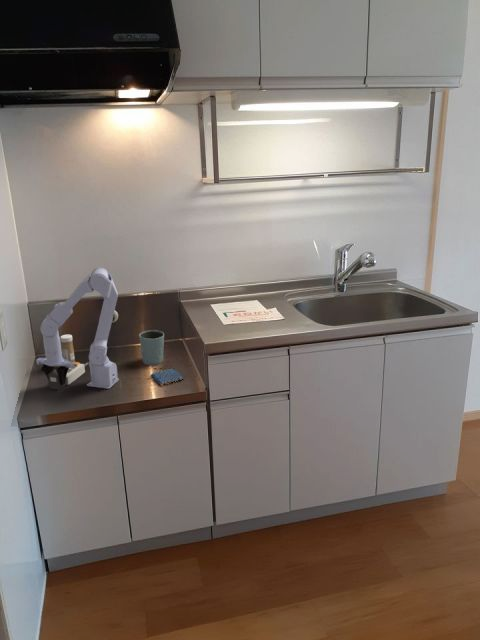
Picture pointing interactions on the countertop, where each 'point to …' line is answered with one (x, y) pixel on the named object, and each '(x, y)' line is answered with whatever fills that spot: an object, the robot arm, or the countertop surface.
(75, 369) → the power strip
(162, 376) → the woven mat
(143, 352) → the teal cup
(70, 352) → the sprinkles bottle
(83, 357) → the countertop surface
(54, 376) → the charger
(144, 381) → the countertop surface
